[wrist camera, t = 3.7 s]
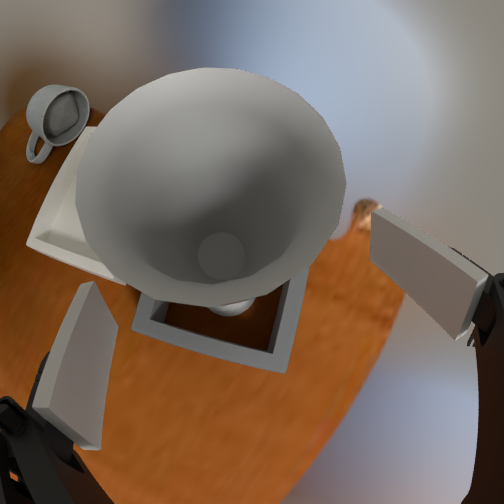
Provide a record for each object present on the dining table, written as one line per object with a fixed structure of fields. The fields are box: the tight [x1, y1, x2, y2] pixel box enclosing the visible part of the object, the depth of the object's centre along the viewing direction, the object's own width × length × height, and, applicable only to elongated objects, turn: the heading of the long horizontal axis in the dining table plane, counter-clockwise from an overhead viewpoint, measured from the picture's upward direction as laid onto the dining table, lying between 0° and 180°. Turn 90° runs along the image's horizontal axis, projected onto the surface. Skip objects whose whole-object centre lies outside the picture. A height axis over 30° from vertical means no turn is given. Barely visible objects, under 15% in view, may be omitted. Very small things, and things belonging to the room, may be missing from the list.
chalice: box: [75, 68, 346, 316], centre depth 15 cm, size 7×7×18 cm
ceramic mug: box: [26, 85, 90, 164], centre depth 24 cm, size 11×8×8 cm
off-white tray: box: [26, 127, 126, 286], centre depth 24 cm, size 12×15×3 cm
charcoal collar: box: [131, 266, 310, 374], centre depth 21 cm, size 11×11×4 cm
